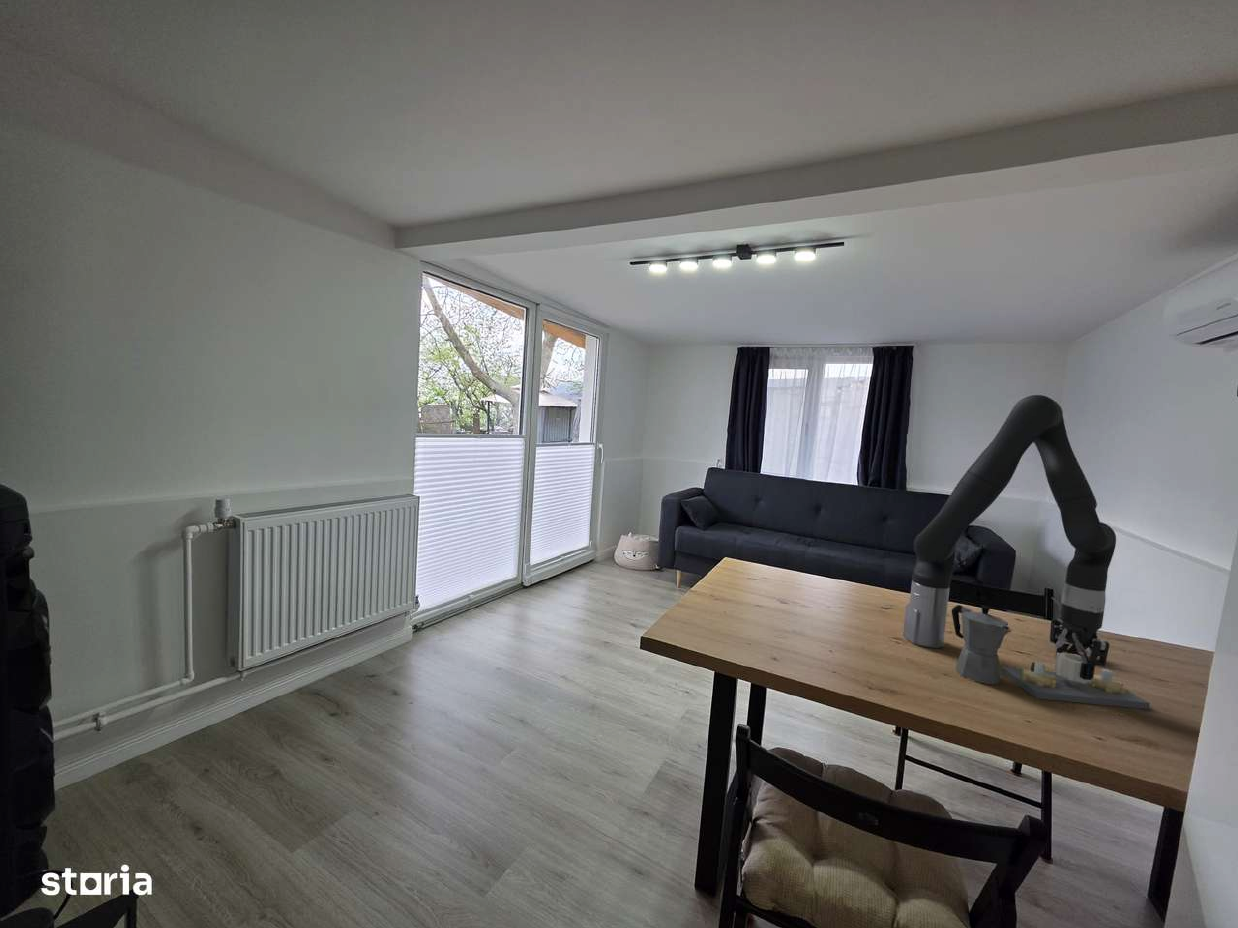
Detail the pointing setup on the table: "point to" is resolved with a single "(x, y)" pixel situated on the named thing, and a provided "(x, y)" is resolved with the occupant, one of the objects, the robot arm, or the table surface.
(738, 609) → the table surface
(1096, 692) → the gear board
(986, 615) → the coffeepot
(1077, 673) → the ivory gear
